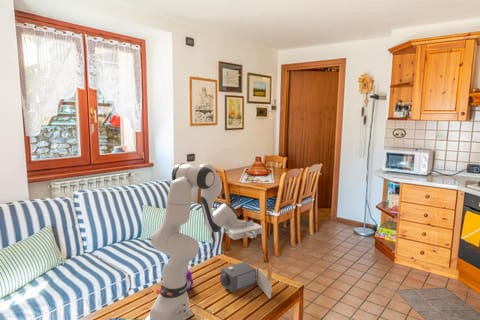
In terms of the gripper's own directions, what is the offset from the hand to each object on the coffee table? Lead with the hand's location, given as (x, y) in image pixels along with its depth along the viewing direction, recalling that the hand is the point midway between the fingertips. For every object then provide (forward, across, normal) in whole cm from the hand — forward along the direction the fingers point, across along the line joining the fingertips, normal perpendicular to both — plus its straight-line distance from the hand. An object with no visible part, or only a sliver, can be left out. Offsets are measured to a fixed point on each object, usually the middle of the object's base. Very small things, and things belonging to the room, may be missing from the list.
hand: (254, 236), depth 172 cm
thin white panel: (+5, +4, +30) cm, 31 cm away
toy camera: (-21, -32, +30) cm, 49 cm away
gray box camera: (-8, -4, +30) cm, 31 cm away
